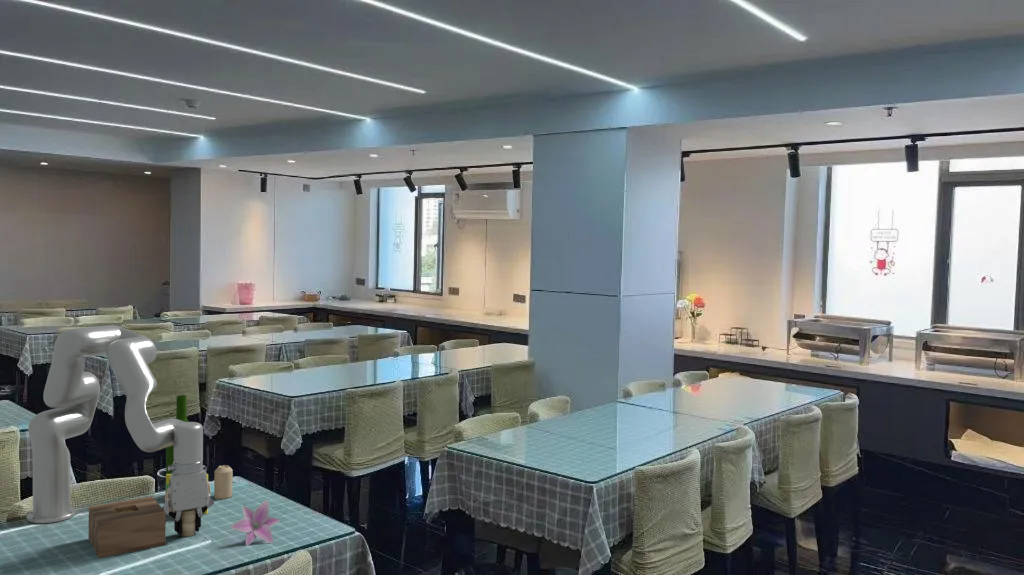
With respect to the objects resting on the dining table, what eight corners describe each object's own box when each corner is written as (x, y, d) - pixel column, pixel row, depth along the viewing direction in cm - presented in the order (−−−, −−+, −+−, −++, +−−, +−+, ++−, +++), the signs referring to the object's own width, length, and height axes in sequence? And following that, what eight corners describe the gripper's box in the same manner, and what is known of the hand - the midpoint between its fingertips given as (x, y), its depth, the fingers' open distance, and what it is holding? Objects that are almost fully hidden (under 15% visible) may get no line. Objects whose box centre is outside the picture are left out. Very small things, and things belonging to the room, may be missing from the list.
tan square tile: (116, 515, 207) (116, 512, 207) (133, 512, 210) (134, 509, 210) (119, 520, 204) (119, 516, 204) (137, 517, 206) (137, 513, 206)
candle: (226, 499, 244) (226, 469, 243) (210, 498, 245) (211, 467, 244) (235, 494, 249) (236, 464, 249) (220, 493, 250) (220, 463, 250)
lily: (223, 547, 208) (229, 522, 204) (240, 517, 218) (246, 493, 214) (266, 561, 209) (273, 536, 205) (280, 530, 219) (287, 506, 215)
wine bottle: (202, 494, 249) (202, 395, 248) (179, 501, 241) (180, 399, 239) (182, 489, 253) (182, 392, 251) (159, 497, 245) (160, 396, 243)
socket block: (88, 538, 209) (88, 506, 208) (151, 527, 218) (152, 496, 218) (98, 558, 196) (98, 523, 196) (165, 545, 206) (165, 512, 205)
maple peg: (178, 533, 214) (178, 508, 214) (193, 530, 217) (193, 506, 216) (182, 537, 211) (182, 512, 211) (197, 534, 213) (197, 510, 213)
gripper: (159, 475, 205) (158, 542, 206) (223, 466, 215) (222, 530, 216) (152, 468, 211) (152, 533, 212) (215, 459, 221) (214, 522, 222)
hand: (187, 531), depth 214 cm, fingers closed on maple peg, 4 cm apart
